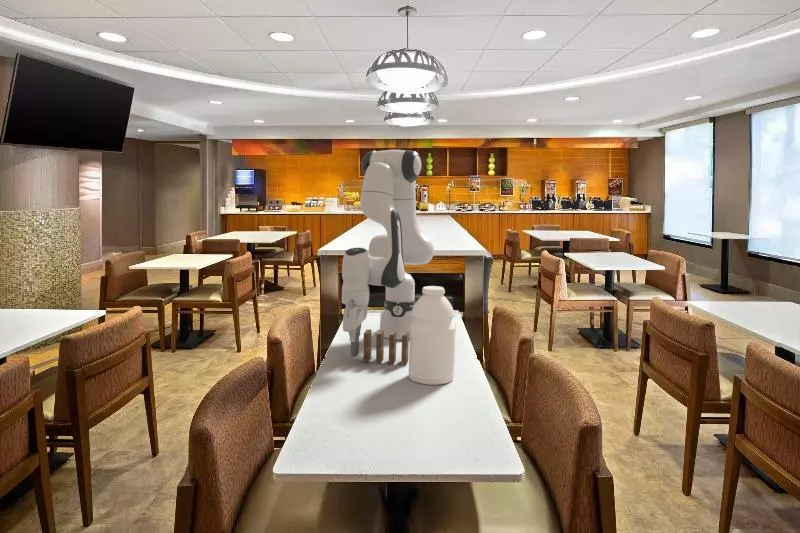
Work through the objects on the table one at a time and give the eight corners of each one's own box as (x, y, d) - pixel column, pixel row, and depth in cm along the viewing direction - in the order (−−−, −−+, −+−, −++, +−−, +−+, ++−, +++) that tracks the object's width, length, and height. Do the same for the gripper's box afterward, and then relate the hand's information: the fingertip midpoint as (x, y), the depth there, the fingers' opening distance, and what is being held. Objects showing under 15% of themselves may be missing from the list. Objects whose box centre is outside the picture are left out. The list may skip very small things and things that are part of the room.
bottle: (413, 386, 171) (415, 292, 167) (404, 371, 184) (405, 284, 180) (459, 384, 173) (463, 291, 169) (447, 369, 187) (449, 283, 183)
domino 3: (388, 364, 191) (389, 334, 190) (391, 359, 196) (391, 330, 195) (393, 364, 191) (394, 334, 189) (395, 360, 196) (396, 331, 194)
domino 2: (375, 363, 192) (376, 333, 190) (378, 359, 197) (379, 330, 195) (380, 363, 191) (381, 334, 190) (383, 359, 196) (383, 330, 195)
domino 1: (363, 362, 192) (363, 333, 191) (366, 358, 197) (366, 329, 196) (368, 363, 192) (368, 333, 191) (371, 358, 197) (371, 329, 196)
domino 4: (401, 365, 190) (401, 335, 189) (403, 360, 195) (404, 331, 194) (406, 365, 190) (406, 335, 189) (408, 360, 195) (408, 331, 194)
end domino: (350, 357, 193) (350, 327, 191) (354, 352, 197) (354, 323, 196) (355, 357, 192) (355, 327, 191) (358, 353, 197) (359, 324, 196)
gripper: (357, 304, 182) (357, 347, 183) (370, 292, 202) (370, 331, 203) (338, 303, 182) (337, 346, 184) (353, 291, 202) (352, 330, 204)
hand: (355, 338), depth 194 cm, fingers closed on end domino, 5 cm apart
